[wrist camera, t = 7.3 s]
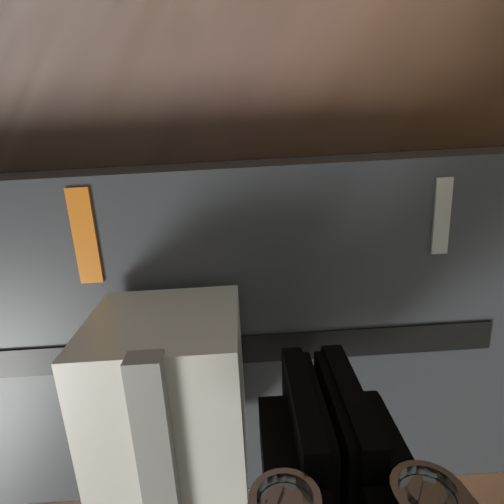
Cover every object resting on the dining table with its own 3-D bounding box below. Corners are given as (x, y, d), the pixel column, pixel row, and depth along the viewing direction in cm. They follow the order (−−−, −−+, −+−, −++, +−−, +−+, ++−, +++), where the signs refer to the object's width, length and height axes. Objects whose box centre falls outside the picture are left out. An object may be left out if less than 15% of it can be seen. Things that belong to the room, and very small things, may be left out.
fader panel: (478, 418, 19) (523, 472, 16) (-148, 458, 18) (-222, 522, 15) (514, 145, 15) (580, 149, 12) (-259, 186, 15) (-383, 202, 12)
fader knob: (246, 423, 14) (249, 547, 10) (130, 430, 14) (84, 558, 10) (237, 282, 13) (236, 358, 9) (107, 289, 13) (41, 370, 8)
